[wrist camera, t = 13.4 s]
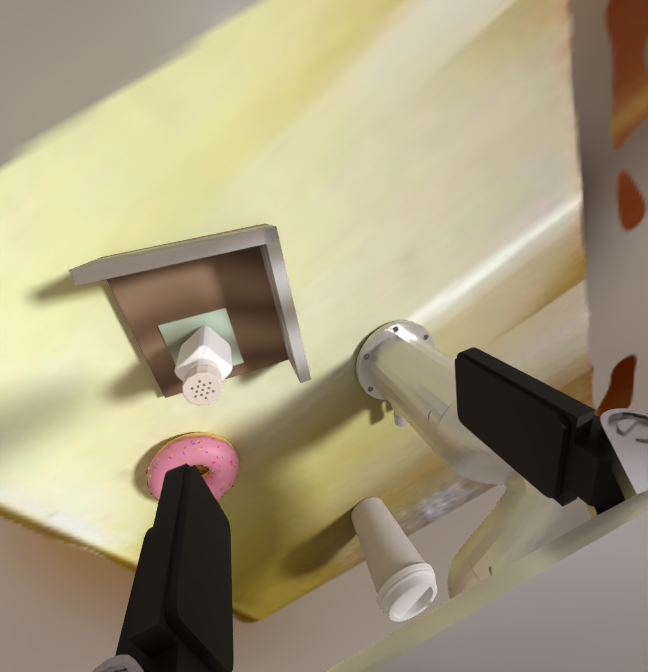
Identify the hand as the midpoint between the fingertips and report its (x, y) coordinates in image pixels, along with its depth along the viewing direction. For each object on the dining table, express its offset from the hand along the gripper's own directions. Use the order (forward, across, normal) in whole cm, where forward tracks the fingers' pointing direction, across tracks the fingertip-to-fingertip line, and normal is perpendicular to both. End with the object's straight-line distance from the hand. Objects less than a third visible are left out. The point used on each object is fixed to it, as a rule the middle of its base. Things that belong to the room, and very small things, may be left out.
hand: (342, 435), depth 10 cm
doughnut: (+28, +16, +20) cm, 38 cm away
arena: (+27, +6, +2) cm, 28 cm away
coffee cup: (+28, -5, +46) cm, 55 cm away
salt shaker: (+26, +8, +5) cm, 28 cm away
